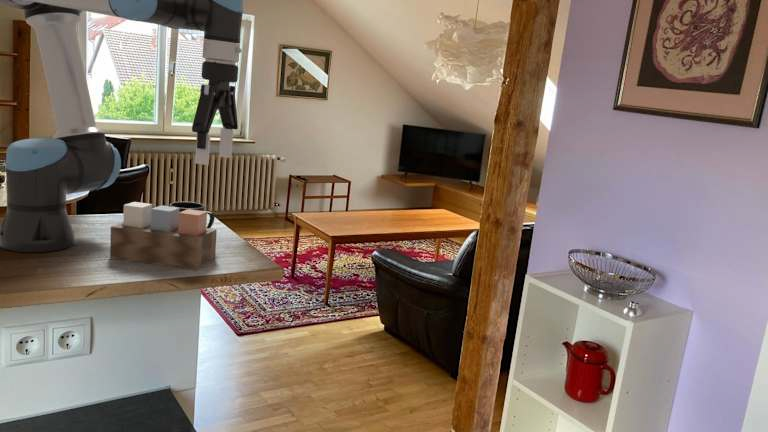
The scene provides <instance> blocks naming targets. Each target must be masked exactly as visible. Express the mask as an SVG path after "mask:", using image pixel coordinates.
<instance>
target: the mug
mask: <svg viewBox="0 0 768 432" xmlns="http://www.w3.org/2000/svg"><path fill="white" fill-rule="evenodd" d="M169 207H177V208H180V211H179V213H180V212H182V211H185V210H187V209H191V210H199V211H206V210H205V204H202V203H199V202H193V201H174V202H171V203H170V204H169ZM206 212H207V215H209V221H208V224H207V225H206V228H211V229H212V226H213V225H214V222H215V217H216V216H215V213H214V212H212V211H208V210H207V211H206Z"/></svg>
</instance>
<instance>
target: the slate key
mask: <svg viewBox="0 0 768 432" xmlns="http://www.w3.org/2000/svg"><path fill="white" fill-rule="evenodd" d="M179 211H180V208H177V207H169V206H168V205H158V206H156V207H152V209H151V229H152V230H159V231H167V232H172V231H174V230H176V229H178V228H179Z"/></svg>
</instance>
